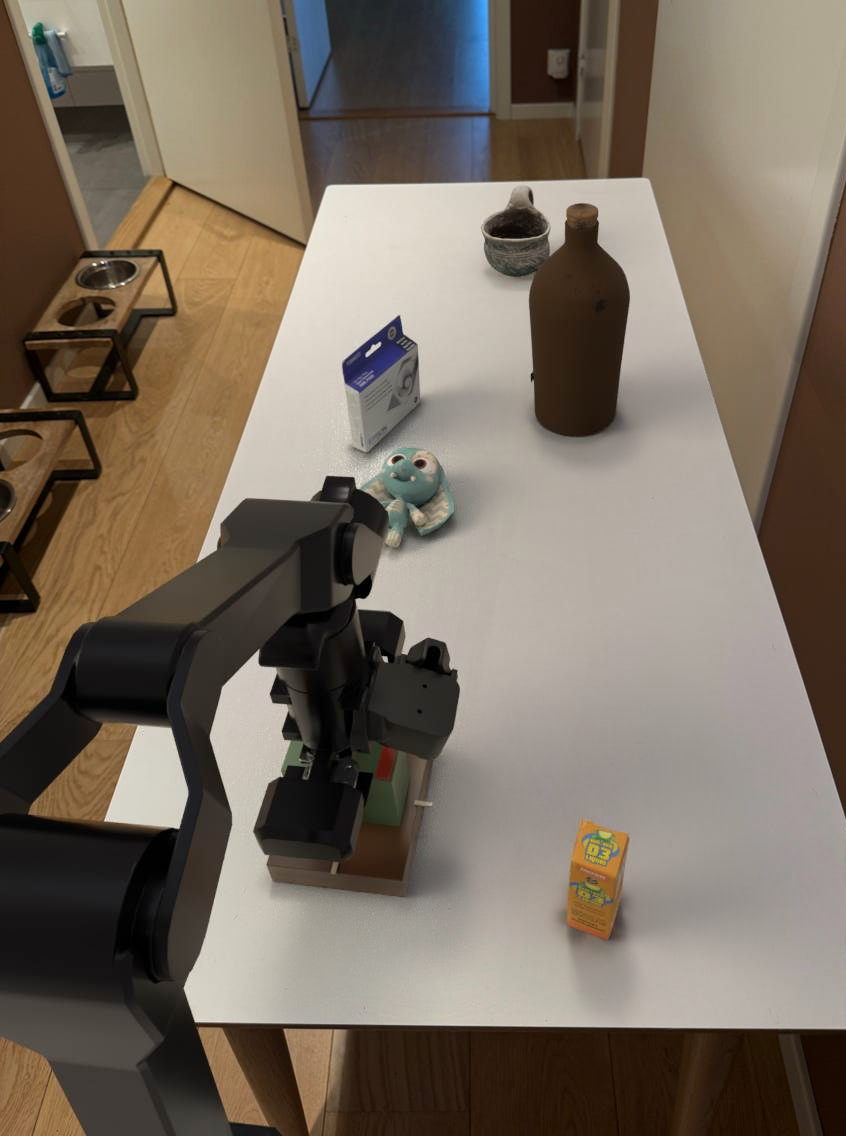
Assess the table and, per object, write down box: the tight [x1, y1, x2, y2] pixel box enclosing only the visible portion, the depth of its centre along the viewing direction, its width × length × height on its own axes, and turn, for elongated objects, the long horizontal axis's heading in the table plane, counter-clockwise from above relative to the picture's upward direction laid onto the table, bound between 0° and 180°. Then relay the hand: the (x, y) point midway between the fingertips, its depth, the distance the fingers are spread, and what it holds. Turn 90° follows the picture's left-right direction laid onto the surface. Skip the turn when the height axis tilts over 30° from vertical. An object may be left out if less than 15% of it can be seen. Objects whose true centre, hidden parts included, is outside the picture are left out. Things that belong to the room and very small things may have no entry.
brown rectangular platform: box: [266, 753, 434, 898], centre depth 73 cm, size 12×12×3 cm
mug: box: [480, 185, 552, 278], centre depth 135 cm, size 10×12×10 cm
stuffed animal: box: [359, 446, 455, 548], centre depth 97 cm, size 11×7×12 cm
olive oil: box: [528, 202, 631, 437], centre depth 103 cm, size 11×11×25 cm
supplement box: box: [566, 818, 630, 941], centre depth 64 cm, size 3×3×10 cm
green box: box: [280, 741, 410, 826], centre depth 70 cm, size 8×4×6 cm, turn 82°
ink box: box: [341, 314, 421, 454], centre depth 107 cm, size 12×2×12 cm, turn 149°
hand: (352, 788), depth 71 cm, fingers closed on green box, 4 cm apart
